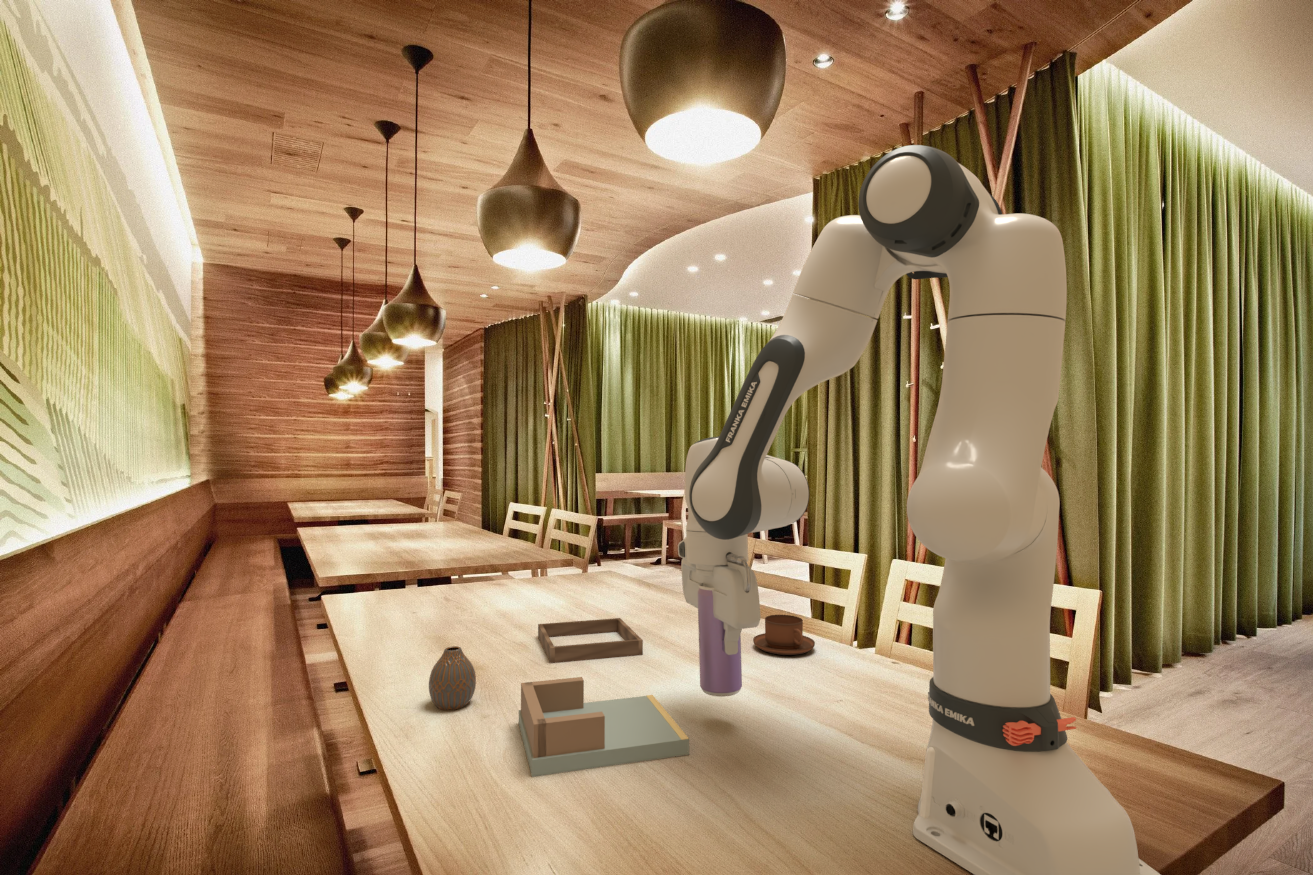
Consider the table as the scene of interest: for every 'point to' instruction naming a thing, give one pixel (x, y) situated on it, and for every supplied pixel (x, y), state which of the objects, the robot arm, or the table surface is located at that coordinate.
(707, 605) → the beverage can
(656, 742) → the dock
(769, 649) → the cup and saucer
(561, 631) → the serving tray frame
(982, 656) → the robot arm
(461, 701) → the vase
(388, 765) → the table surface
